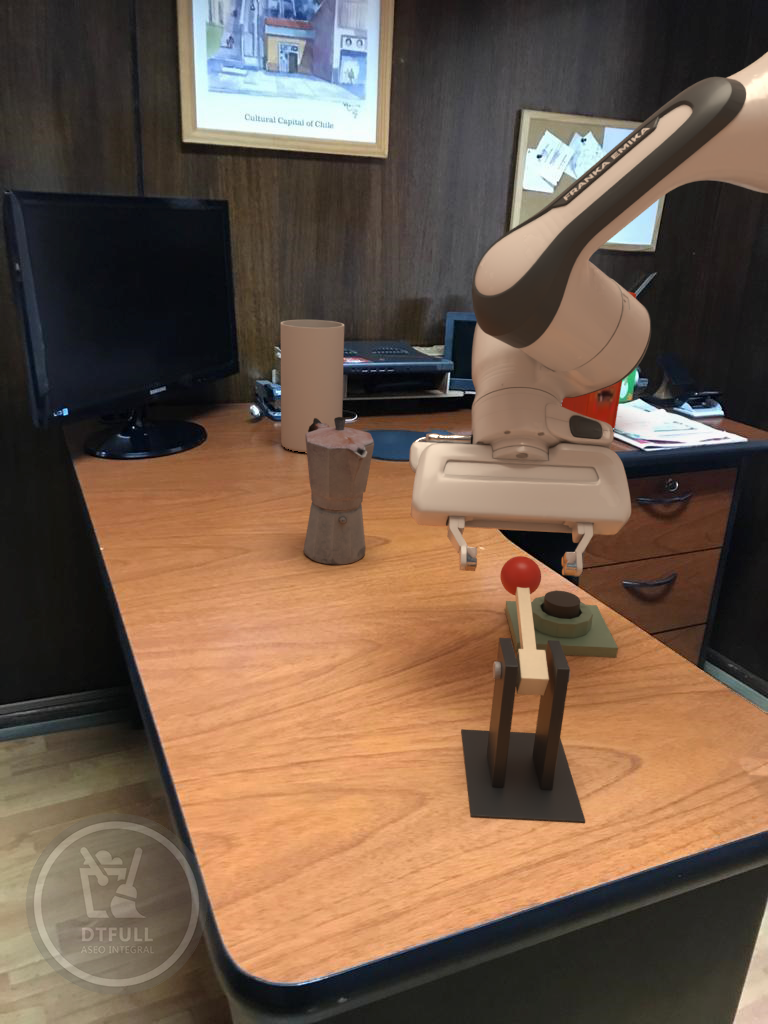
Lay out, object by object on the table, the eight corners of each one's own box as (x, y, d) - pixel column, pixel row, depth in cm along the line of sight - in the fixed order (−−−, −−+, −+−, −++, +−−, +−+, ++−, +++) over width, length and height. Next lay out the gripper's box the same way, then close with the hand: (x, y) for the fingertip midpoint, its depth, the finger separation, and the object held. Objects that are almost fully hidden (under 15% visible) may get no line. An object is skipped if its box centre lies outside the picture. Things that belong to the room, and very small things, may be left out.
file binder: (590, 416, 198) (609, 286, 186) (615, 433, 182) (636, 292, 170) (560, 415, 197) (576, 285, 186) (581, 433, 181) (601, 291, 170)
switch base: (460, 739, 71) (471, 616, 67) (557, 744, 71) (575, 621, 67) (469, 827, 61) (483, 688, 56) (583, 833, 61) (606, 695, 56)
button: (574, 604, 90) (576, 591, 89) (581, 621, 86) (583, 607, 86) (540, 603, 90) (541, 589, 89) (546, 619, 86) (547, 605, 86)
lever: (496, 572, 72) (502, 547, 69) (535, 574, 72) (542, 548, 69) (506, 698, 63) (513, 673, 60) (551, 700, 63) (559, 675, 60)
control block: (594, 621, 94) (599, 591, 93) (615, 665, 85) (620, 633, 83) (504, 616, 94) (507, 587, 93) (515, 660, 85) (518, 628, 83)
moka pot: (333, 579, 102) (335, 432, 95) (276, 540, 113) (275, 406, 106) (391, 564, 107) (397, 423, 100) (331, 528, 119) (333, 399, 112)
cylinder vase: (269, 443, 161) (268, 321, 153) (318, 435, 169) (319, 318, 160) (303, 458, 153) (304, 329, 144) (353, 448, 160) (357, 326, 152)
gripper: (411, 415, 73) (406, 552, 67) (629, 426, 72) (643, 564, 67) (409, 448, 78) (403, 577, 73) (611, 458, 78) (621, 588, 72)
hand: (520, 571), depth 70 cm, fingers open, 8 cm apart
